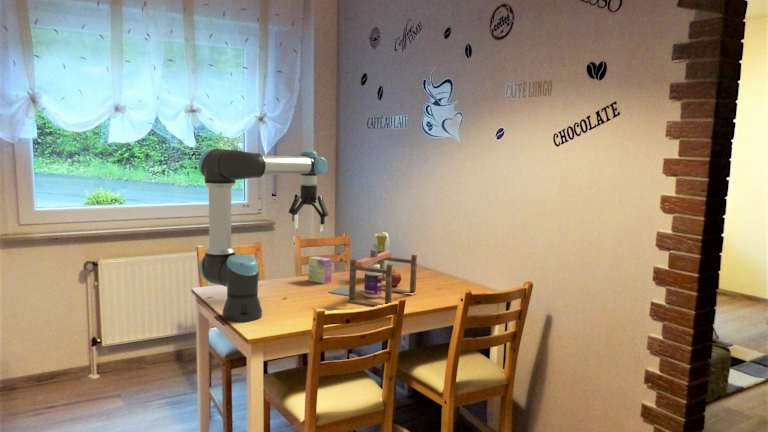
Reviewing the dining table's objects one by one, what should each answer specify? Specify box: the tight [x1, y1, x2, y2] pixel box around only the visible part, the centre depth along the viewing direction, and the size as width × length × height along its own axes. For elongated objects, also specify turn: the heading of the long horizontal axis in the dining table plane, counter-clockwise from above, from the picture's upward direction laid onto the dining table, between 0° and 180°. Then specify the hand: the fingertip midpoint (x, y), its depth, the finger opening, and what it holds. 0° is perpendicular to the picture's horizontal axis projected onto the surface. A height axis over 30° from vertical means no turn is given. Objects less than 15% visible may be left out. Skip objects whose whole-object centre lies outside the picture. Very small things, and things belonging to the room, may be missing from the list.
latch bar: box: [355, 249, 392, 267], centre depth 261 cm, size 29×3×5 cm, turn 154°
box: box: [307, 255, 333, 285], centre depth 287 cm, size 10×6×12 cm, turn 58°
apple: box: [384, 270, 402, 287], centre depth 284 cm, size 8×8×8 cm
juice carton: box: [372, 231, 390, 281], centre depth 297 cm, size 9×8×24 cm
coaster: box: [328, 286, 364, 297], centre depth 270 cm, size 12×12×1 cm
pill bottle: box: [363, 263, 383, 299], centre depth 263 cm, size 8×8×14 cm
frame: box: [347, 250, 418, 307], centre depth 260 cm, size 30×20×18 cm, turn 154°
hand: (308, 230), depth 271 cm, fingers open, 13 cm apart
